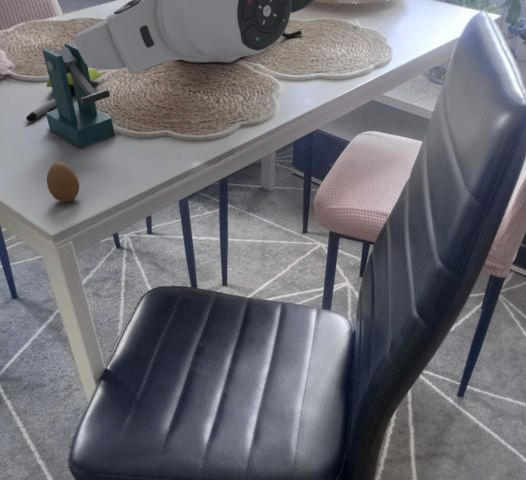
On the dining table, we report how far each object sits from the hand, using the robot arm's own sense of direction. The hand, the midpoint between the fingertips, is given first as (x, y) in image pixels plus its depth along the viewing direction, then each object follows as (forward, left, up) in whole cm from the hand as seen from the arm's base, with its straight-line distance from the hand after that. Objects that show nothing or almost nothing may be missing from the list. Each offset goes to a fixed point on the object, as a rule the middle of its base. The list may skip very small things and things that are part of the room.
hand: (120, 19), depth 80 cm
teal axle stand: (0, -18, -22) cm, 29 cm away
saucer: (-10, -37, -18) cm, 42 cm away
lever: (0, -16, -13) cm, 20 cm away
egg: (+14, 0, -22) cm, 26 cm away
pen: (+5, -31, -23) cm, 39 cm away
